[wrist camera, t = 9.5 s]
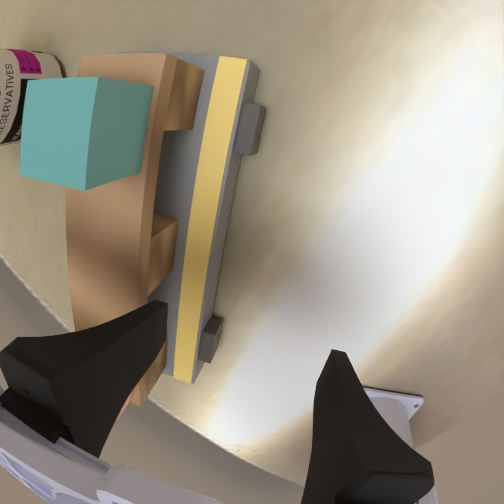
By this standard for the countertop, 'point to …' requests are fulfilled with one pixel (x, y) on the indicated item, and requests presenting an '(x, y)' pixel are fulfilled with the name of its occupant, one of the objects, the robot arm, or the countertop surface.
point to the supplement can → (20, 87)
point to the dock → (203, 203)
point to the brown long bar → (129, 206)
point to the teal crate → (83, 130)
